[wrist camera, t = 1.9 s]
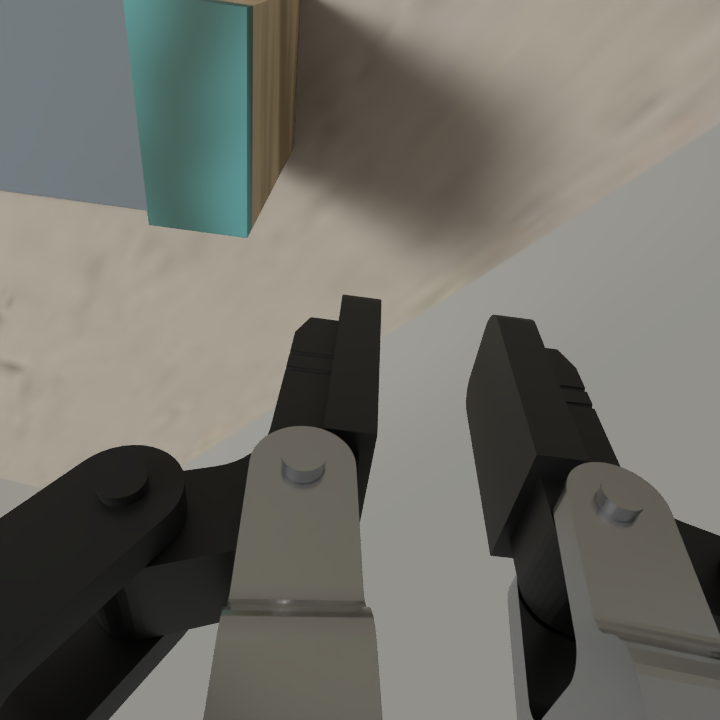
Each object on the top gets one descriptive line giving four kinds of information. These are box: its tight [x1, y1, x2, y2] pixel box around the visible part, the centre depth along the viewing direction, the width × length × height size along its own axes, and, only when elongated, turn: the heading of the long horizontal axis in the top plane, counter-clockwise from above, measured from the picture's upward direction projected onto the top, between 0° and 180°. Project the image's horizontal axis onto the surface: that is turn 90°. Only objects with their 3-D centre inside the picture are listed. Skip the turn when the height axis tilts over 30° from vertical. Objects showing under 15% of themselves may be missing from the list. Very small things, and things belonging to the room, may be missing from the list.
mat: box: [0, 0, 147, 210], centre depth 30 cm, size 14×18×1 cm
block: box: [123, 0, 300, 238], centre depth 25 cm, size 4×8×13 cm, turn 173°
